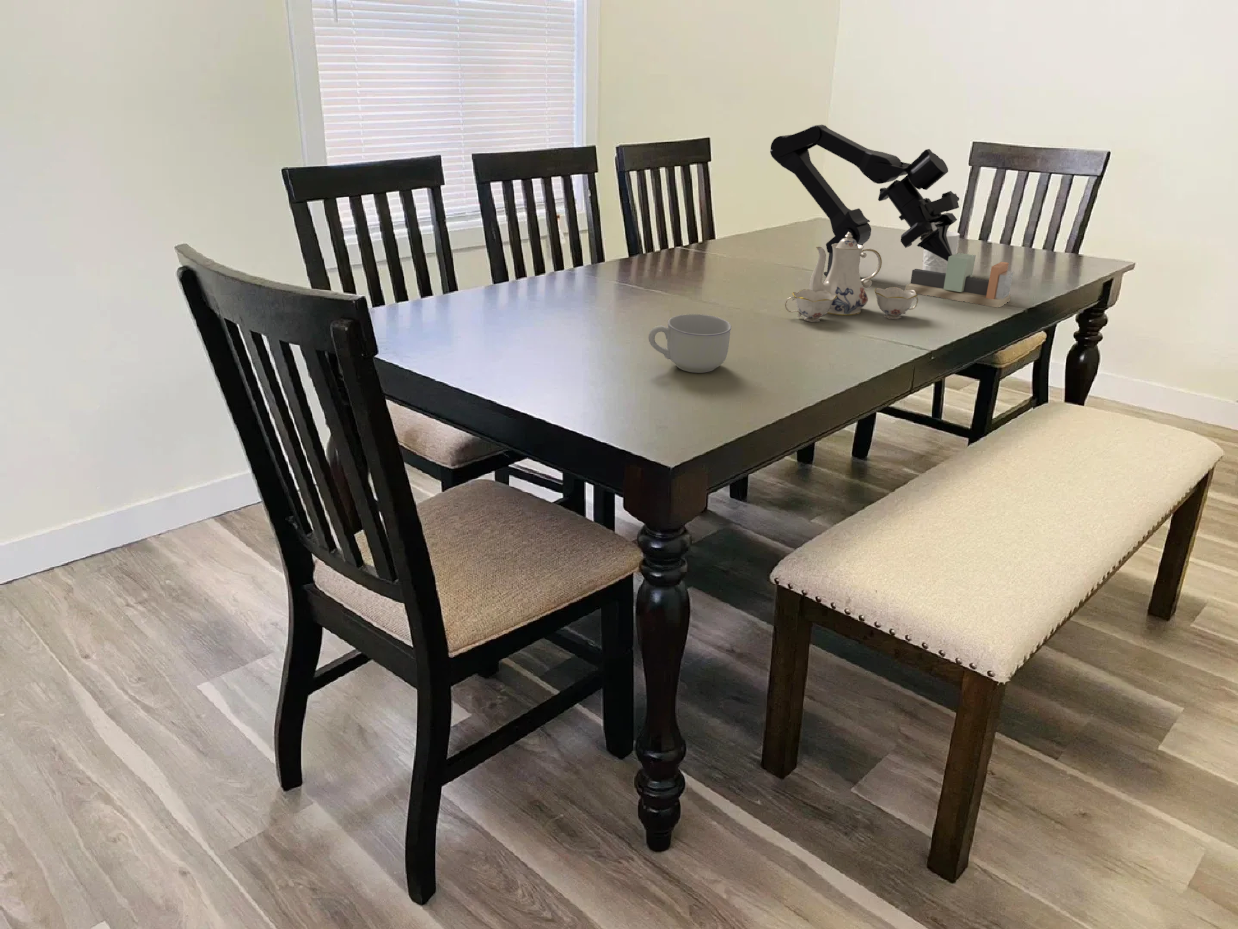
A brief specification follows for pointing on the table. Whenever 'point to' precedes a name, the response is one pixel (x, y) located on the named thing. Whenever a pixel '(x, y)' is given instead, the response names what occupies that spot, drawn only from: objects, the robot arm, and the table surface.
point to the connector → (1004, 285)
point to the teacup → (694, 341)
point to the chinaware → (847, 286)
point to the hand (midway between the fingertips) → (951, 260)
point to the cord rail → (939, 279)
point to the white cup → (938, 263)
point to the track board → (957, 295)
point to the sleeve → (958, 271)
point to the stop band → (995, 278)
